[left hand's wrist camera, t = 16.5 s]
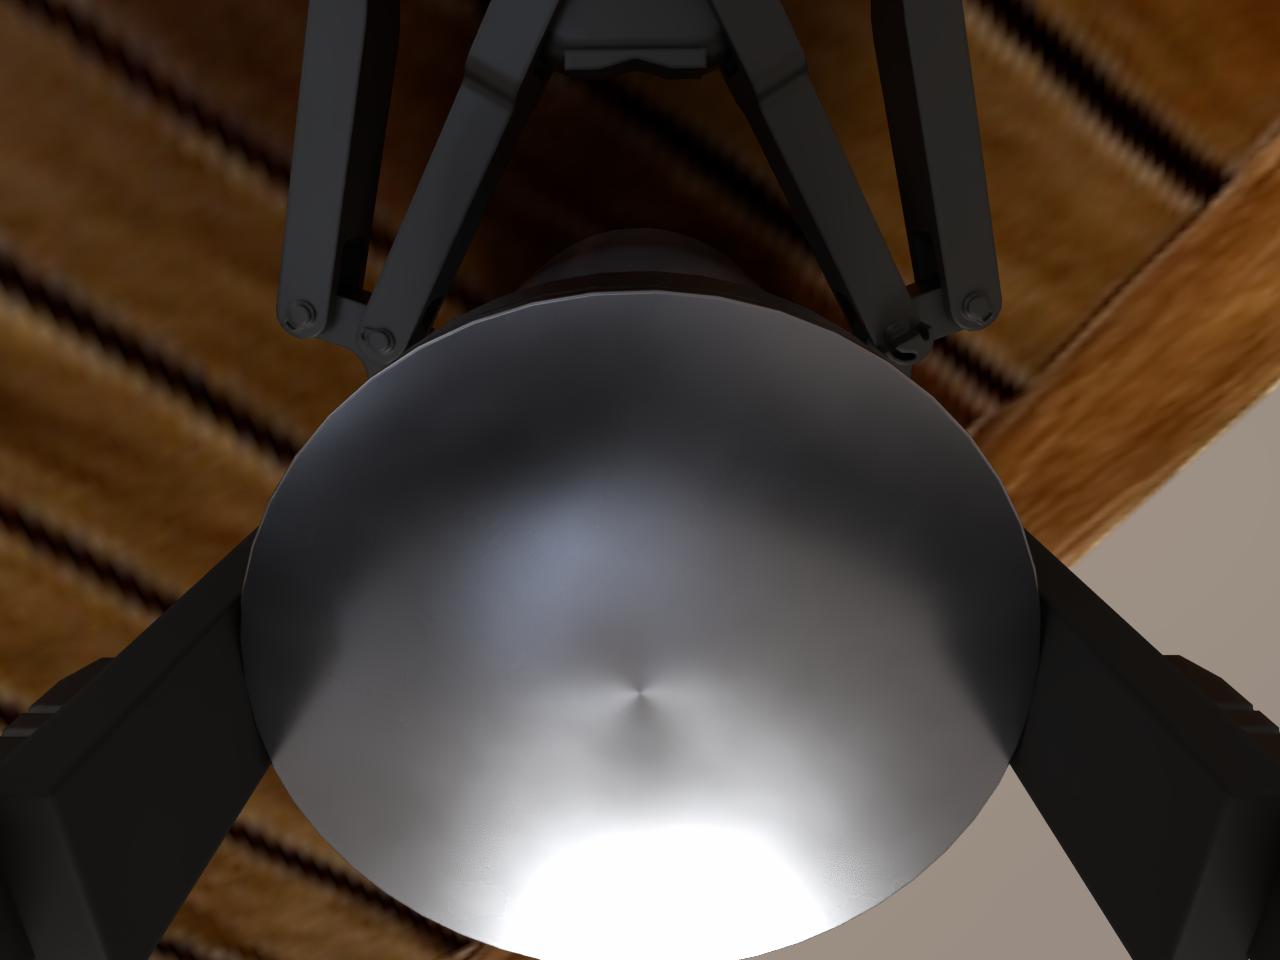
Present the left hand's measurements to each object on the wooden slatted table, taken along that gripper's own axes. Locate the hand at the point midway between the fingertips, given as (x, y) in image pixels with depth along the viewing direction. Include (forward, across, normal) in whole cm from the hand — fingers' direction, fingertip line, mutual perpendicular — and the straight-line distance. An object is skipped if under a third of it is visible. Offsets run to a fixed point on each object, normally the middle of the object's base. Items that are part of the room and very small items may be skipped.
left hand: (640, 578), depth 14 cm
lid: (-3, 0, 0) cm, 3 cm away
